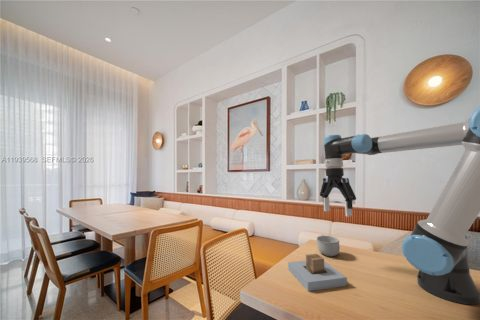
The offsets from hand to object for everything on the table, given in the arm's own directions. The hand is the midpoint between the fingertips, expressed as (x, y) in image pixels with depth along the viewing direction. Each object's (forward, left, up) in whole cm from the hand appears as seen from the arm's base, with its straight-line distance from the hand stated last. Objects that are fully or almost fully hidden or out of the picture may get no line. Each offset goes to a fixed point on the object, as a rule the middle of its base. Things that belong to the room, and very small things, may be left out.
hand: (337, 213), depth 89 cm
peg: (-7, +16, -23) cm, 29 cm away
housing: (-7, +16, -23) cm, 29 cm away
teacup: (+13, -4, -24) cm, 27 cm away
